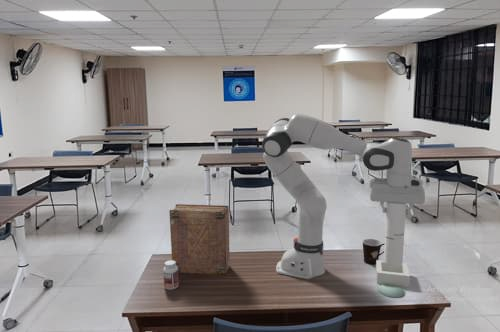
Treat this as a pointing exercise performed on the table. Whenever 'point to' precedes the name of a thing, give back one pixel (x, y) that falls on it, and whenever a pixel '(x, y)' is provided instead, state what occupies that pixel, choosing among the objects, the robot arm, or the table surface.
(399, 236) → the cylindrical container
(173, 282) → the pill bottle
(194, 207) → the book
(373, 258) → the coffee mug
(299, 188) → the robot arm
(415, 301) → the table surface
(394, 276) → the holder
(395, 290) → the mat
